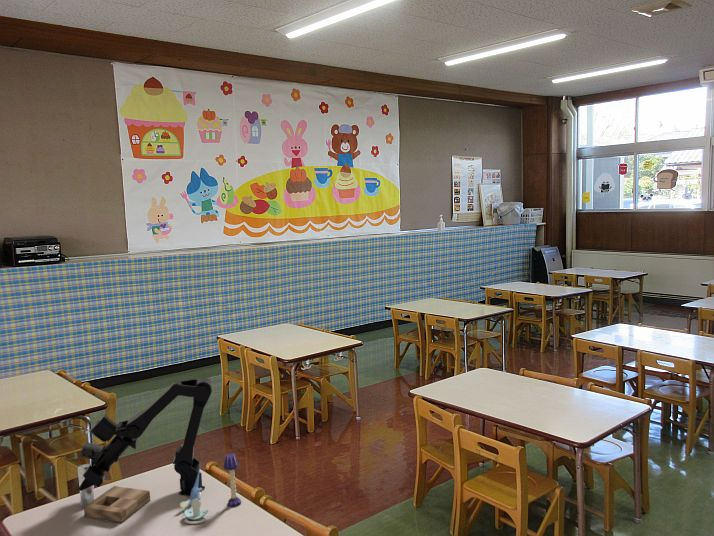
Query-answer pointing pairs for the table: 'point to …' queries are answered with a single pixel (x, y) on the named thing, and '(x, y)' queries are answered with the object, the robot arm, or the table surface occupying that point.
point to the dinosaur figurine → (192, 494)
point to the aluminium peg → (87, 493)
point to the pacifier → (195, 513)
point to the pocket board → (117, 504)
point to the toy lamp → (232, 478)
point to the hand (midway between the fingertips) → (81, 485)
